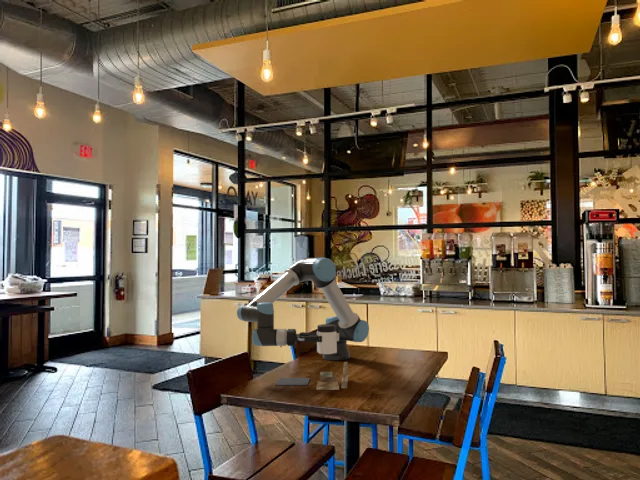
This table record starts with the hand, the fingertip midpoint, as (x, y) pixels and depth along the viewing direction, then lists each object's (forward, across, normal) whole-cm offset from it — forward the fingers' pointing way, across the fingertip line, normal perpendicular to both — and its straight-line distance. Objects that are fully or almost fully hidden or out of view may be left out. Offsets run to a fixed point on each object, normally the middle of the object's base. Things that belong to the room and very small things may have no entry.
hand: (338, 337), depth 212 cm
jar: (-5, +1, -7) cm, 9 cm away
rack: (-3, +4, -20) cm, 21 cm away
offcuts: (-5, +11, -19) cm, 22 cm away
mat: (-21, 0, -20) cm, 29 cm away
